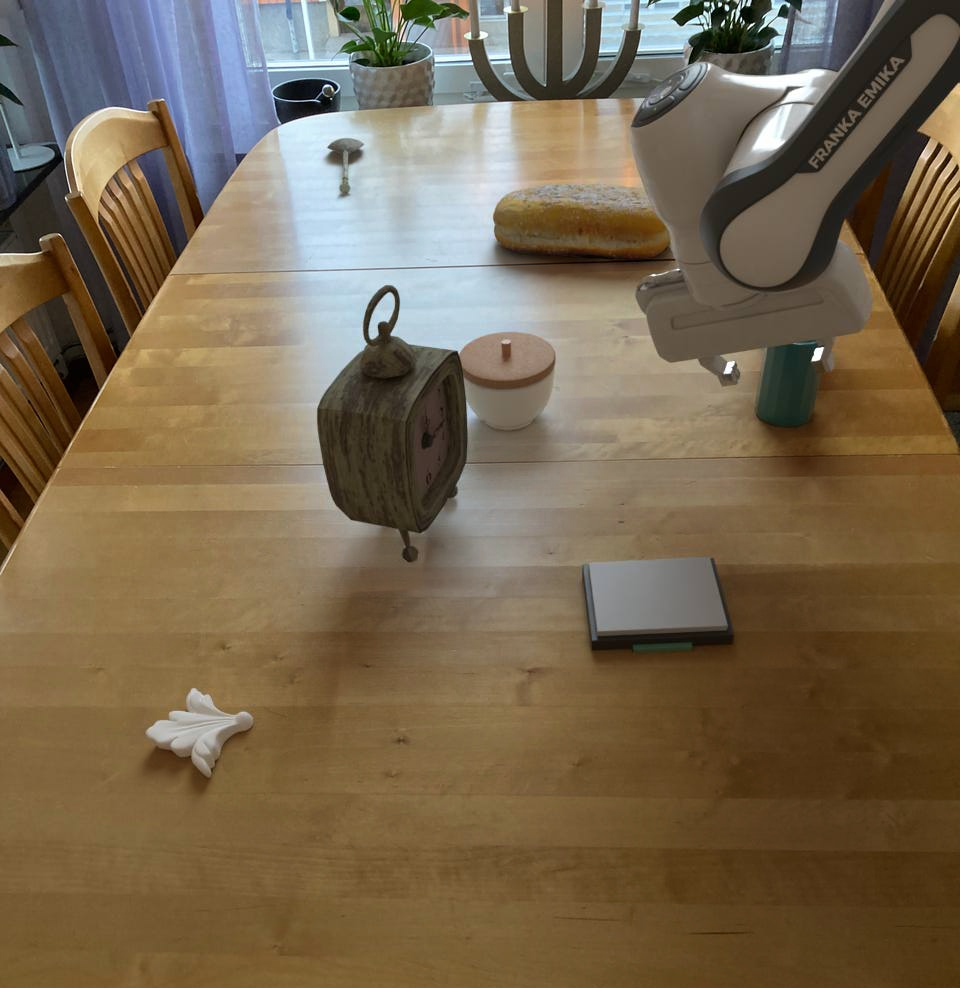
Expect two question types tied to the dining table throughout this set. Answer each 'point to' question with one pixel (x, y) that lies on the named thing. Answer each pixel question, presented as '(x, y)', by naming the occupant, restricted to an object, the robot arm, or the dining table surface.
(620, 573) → the scale
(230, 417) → the dining table surface
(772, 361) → the tumbler
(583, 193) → the bread
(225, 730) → the acanthus leaf ornament
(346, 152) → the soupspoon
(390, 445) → the tabletop clock
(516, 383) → the trinket box
